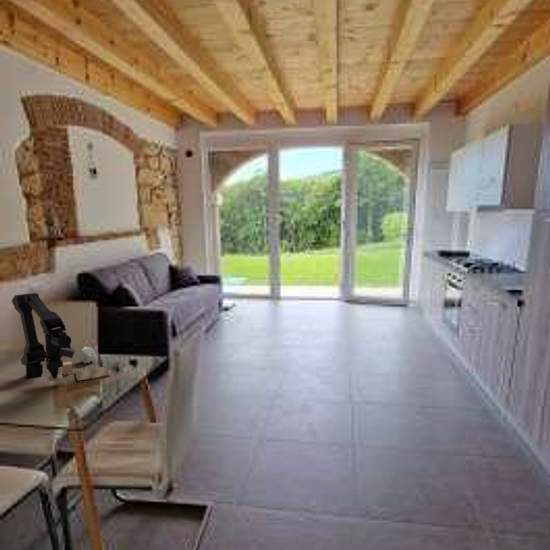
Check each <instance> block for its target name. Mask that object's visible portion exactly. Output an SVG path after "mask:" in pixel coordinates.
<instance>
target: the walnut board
mask: <svg viewBox="0 0 550 550" xmlns="http://www.w3.org/2000/svg"><path fill="white" fill-rule="evenodd" d="M74 375H76V376H75V378H77V379H76V382H77V381H80V380H86V381H88V380H87V379H92V380H96V379H95V378H97V379H102V378H107V377H110V376H111V375H110V373H109V371H108V369H107V367H106V366H100V367H94V368H89V369H82V370H76V371H74ZM80 382H81V381H80Z"/></svg>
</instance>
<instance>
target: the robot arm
mask: <svg viewBox="0 0 550 550" xmlns="http://www.w3.org/2000/svg"><path fill="white" fill-rule="evenodd" d="M11 303H12V305H13V306H14V310H15V311H17V313H19V314H20V320H21V324H22V329H23V334H24V338H25V346H24V348H23V355H22V356H21V359H20V362H21V365H23V366H24V367H25V378H26V379H31V378H37V377H42V376H43V374H44V369H43V368H44V367H43V363H42V362H46V370H47V369H48V370H49V371H50V373H51V375H52V377H53V378H54V379H56V378H57V373H58V368H60V367H63V360H62V358H63V357H65V358H69V359H73V357H74V355H75V352H76V351H75V349H74V348H73V347H72V346H71V343H72V338H71V336H69V334H67V329H66V324H65V323H64V322H63V319H62V318H61V316H60V315H58V314H57V313H56V312H55V311H51V310H50V309H49V308H48V306H46V304H45V302H44V301H43V300H42V299H41V297H40V295H39V294H38V292H34V293H33V292H31V293H23V294H22V293H21V294H16V295H14V296H13V297H12V299H11ZM33 311H34V312H35V313H36V315H37V316H38V318H39V320H40V321H39V324H40V326H41V328H42V333H44V340H45V341H44V342H45V346H44V344H43V343H40V341H39V339H38V335H37V330H36V325H35V321H34V316H33Z"/></svg>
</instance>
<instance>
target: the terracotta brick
mask: <svg viewBox="0 0 550 550" xmlns="http://www.w3.org/2000/svg"><path fill="white" fill-rule="evenodd" d="M68 373H72V374H73V363H72V361H64V362H63V367H62V374H67V375H69V374H68Z"/></svg>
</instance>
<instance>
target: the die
mask: <svg viewBox="0 0 550 550" xmlns="http://www.w3.org/2000/svg"><path fill="white" fill-rule="evenodd" d="M76 354H77V358H78V360H79V362H81V363H82V362H83V363H82V364H86V363H89V364H90V363H91V362H93V360H94V359H96V357H97V354H96V353H95V350H94V349H93V347H89V346H84V347H83V348H82V349H81V350H79V352H77V353H76Z"/></svg>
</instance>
